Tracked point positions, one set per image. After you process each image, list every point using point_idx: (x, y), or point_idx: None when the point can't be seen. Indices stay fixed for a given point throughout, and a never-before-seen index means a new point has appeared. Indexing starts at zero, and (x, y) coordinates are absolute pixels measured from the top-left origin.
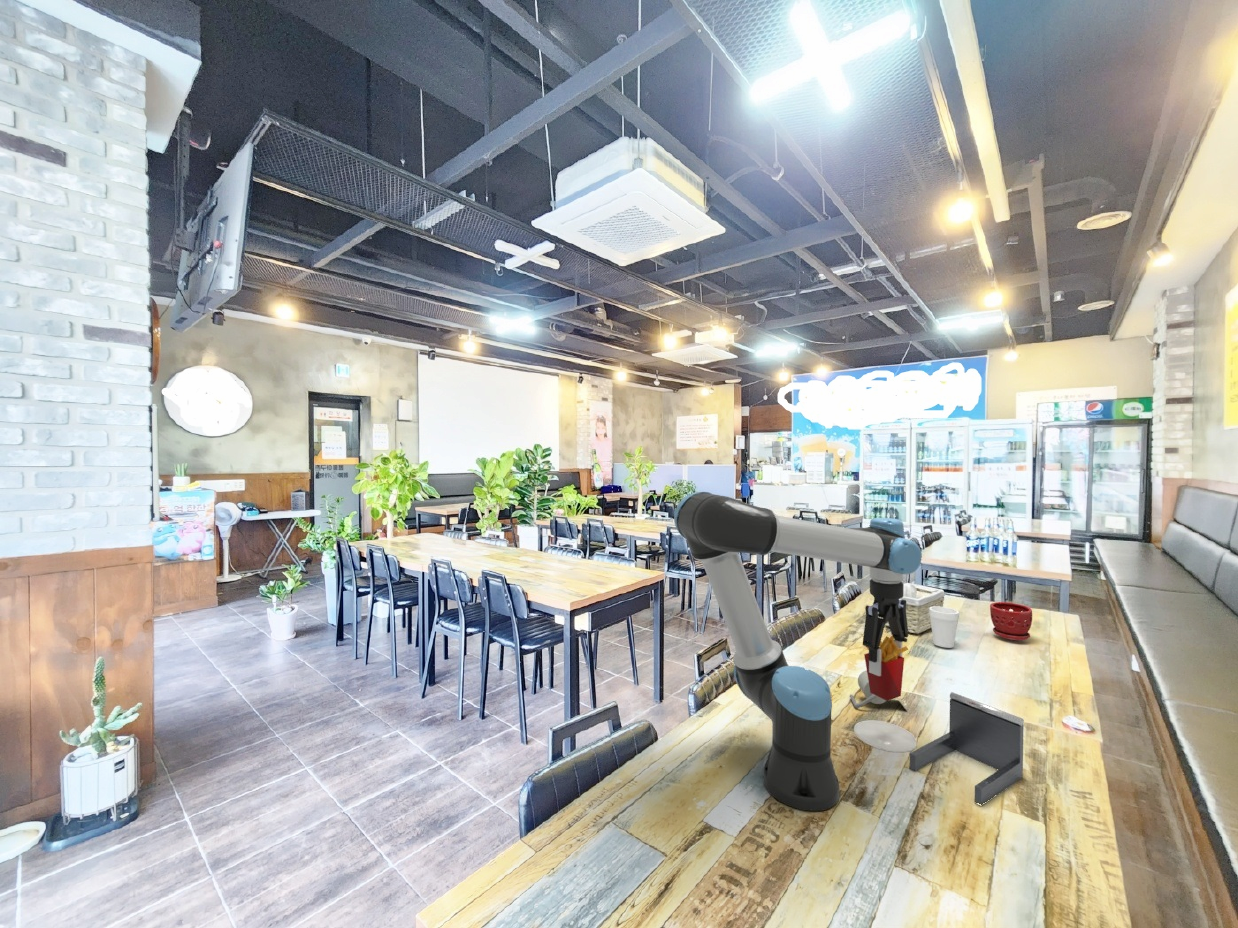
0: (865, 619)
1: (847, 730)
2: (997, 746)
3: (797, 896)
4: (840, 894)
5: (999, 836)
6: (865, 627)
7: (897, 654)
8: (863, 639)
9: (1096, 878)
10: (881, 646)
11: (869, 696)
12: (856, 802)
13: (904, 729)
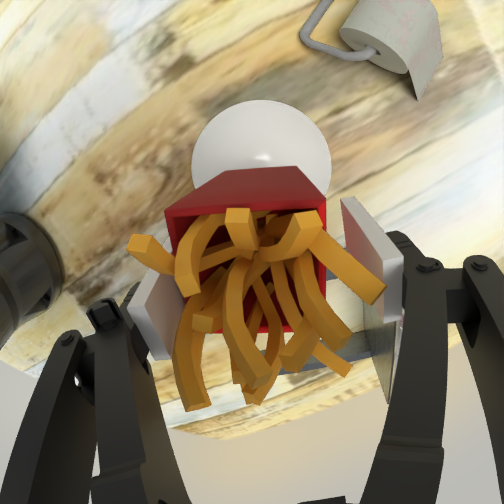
0: (7, 468)
1: (196, 114)
2: (374, 341)
3: (4, 352)
4: (31, 364)
5: (219, 386)
6: (28, 424)
7: (284, 342)
8: (50, 359)
9: (257, 426)
10: (175, 364)
11: (349, 41)
12: (82, 300)
13: (329, 168)
